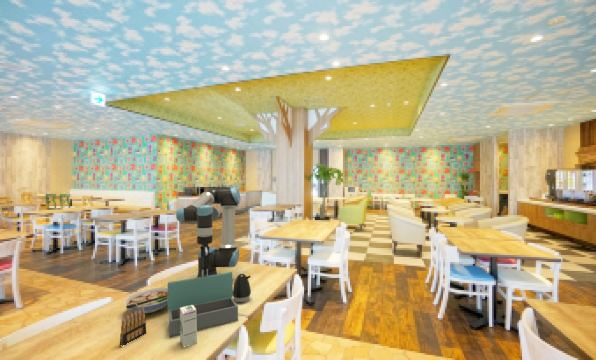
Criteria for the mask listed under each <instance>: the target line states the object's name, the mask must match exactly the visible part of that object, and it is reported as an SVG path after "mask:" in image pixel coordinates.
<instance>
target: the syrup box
mask: <svg viewBox="0 0 596 360" xmlns="http://www.w3.org/2000/svg"><path fill="white" fill-rule="evenodd" d="M179 337H180V338H179V339H180V344H181V346H182V347H183V348H185V347H184V346H187V347H189V346H188V345H190V346H193V345H197V343H198V331H197V318H196V308H195V307H194V305H188V306H185V307H182V308H180V335H179ZM192 344H193V345H192Z"/></svg>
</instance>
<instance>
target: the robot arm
mask: <svg viewBox="0 0 596 360" xmlns="http://www.w3.org/2000/svg"><path fill="white" fill-rule="evenodd" d="M239 204H241V193H240V190H239V188H238V187H236V186H235V187H234V186H223V187H222V186H221V187H218V186H217V187H216V186H215V187H211V188H208V189H206V190H204V191H203V192H202V193H201V194H200V196H199V197H198V198H197V199H195V200H194V201H192V203H190V204H189V205H188V206H186V207H180V208H177V210H176V212H175V218H176V220H177V221H178V222H184V223H185V222H196V229H195V232H196V234H197V236H196V244H197V245H201V246H200V247H199V249H200V250H198V254H197V258H198V259H197V265H198V266H197V270H198V271H197V276H196V278H197V277H204V276H210V275H216V274H219V273H218V271H217V268H235V267H236V266H237V265H238V262H239V258H240V250H239V249H238V247H237V244H235V241H236V239H235V236H236V235H235V234H236V209H237V208H238V206H239ZM212 205H219V207H220V208H221V209H222V217H221V219H222V220H221V222H222V223H221V244H220V246H219V247H218V249H217V247H216V246H209V245H210V244H212V243H213V230H214V229H213V222H214V221H216V220H217V219H219V217H220V215H221V214H220V213H221V212H220V210H219V209H218V208H217V207H216V206H215V207H214V206H212Z"/></svg>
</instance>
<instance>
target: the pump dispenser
mask: <svg viewBox="0 0 596 360" xmlns="http://www.w3.org/2000/svg"><path fill="white" fill-rule="evenodd" d="M250 278H252V277H251V275H248V276H247V275H246V274H245V273H239V274H238V275H237V276H236V278H235V279H234V280H235V281H234V284H233V297H232V298H233V300H234V301H235V302H236V303H246V302H247V301H248V300H249V298H250V296H251V293H252V289H251V285H250V280H249V279H250Z"/></svg>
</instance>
